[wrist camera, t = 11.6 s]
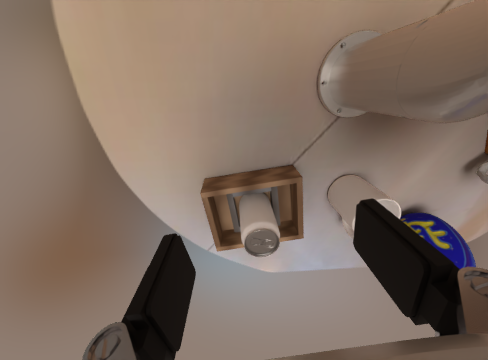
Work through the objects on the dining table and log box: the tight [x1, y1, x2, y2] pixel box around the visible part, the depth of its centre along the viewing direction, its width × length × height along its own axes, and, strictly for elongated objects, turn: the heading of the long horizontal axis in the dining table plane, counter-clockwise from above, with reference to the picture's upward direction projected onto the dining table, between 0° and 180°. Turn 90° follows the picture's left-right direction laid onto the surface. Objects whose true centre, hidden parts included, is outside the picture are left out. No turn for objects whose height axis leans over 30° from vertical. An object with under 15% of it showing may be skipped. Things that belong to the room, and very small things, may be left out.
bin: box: [200, 165, 304, 251], centre depth 39 cm, size 18×14×6 cm
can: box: [239, 192, 280, 257], centre depth 36 cm, size 6×6×12 cm
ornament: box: [400, 213, 476, 269], centre depth 40 cm, size 11×9×15 cm
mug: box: [328, 175, 401, 239], centre depth 38 cm, size 12×8×10 cm
